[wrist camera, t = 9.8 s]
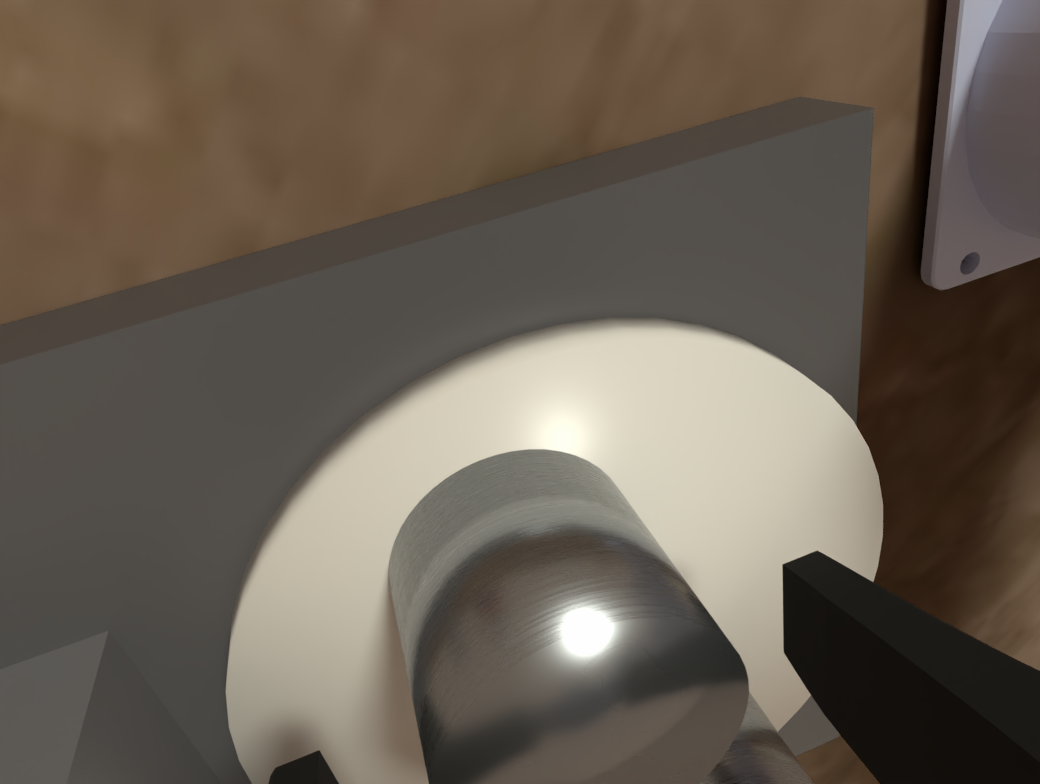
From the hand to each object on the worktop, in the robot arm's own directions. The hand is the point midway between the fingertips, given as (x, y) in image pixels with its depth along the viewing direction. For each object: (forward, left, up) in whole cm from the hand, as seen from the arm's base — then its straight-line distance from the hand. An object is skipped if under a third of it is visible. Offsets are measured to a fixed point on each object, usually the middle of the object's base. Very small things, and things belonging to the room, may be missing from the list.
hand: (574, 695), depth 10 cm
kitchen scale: (+2, +3, -6) cm, 7 cm away
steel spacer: (0, 0, -3) cm, 3 cm away
